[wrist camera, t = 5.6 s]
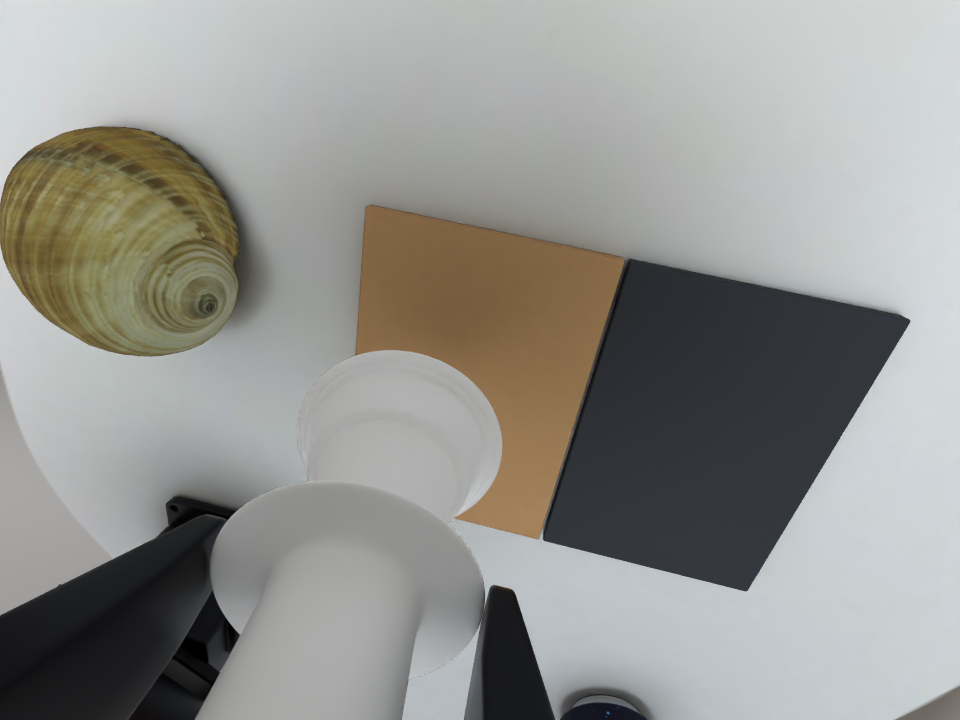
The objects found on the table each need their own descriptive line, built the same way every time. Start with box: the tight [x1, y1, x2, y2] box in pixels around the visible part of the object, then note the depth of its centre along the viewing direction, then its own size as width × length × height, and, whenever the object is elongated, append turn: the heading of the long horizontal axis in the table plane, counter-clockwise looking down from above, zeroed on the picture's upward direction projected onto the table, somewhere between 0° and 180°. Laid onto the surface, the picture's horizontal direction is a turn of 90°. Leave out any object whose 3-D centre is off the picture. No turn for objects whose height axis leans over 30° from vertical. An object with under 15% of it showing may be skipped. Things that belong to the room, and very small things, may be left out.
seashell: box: [0, 126, 240, 356], centre depth 18 cm, size 10×7×8 cm
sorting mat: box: [356, 205, 910, 591], centre depth 21 cm, size 20×14×1 cm
